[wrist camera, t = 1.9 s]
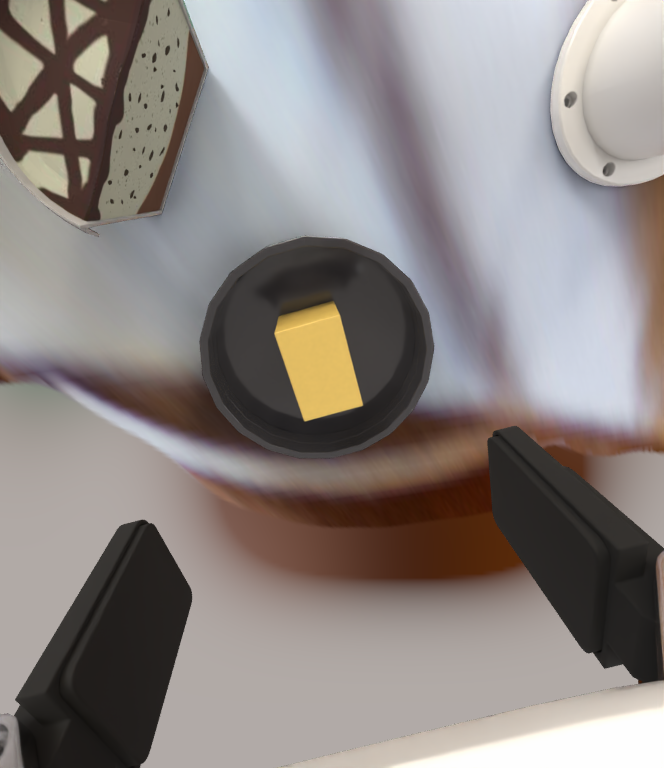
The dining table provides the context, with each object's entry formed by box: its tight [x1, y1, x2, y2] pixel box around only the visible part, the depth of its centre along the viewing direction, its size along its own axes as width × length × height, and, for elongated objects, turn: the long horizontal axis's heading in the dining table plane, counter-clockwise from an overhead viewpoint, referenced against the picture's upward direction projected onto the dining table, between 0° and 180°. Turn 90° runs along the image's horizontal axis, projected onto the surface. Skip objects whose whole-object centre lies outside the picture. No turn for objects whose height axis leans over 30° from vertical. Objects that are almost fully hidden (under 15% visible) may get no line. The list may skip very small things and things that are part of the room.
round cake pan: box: [200, 236, 434, 458], centre depth 29 cm, size 17×17×4 cm
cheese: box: [274, 301, 363, 421], centre depth 28 cm, size 4×7×5 cm, turn 15°
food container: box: [0, 0, 209, 237], centre depth 19 cm, size 12×6×10 cm, turn 152°
